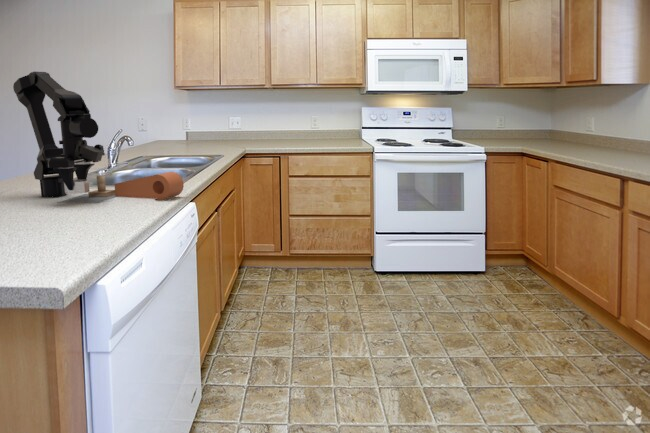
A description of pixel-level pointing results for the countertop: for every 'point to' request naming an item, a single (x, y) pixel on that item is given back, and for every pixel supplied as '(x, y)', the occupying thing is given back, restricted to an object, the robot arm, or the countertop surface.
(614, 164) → the countertop surface
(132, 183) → the crank
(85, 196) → the mat
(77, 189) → the collar
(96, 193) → the tan stamp
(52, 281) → the countertop surface
